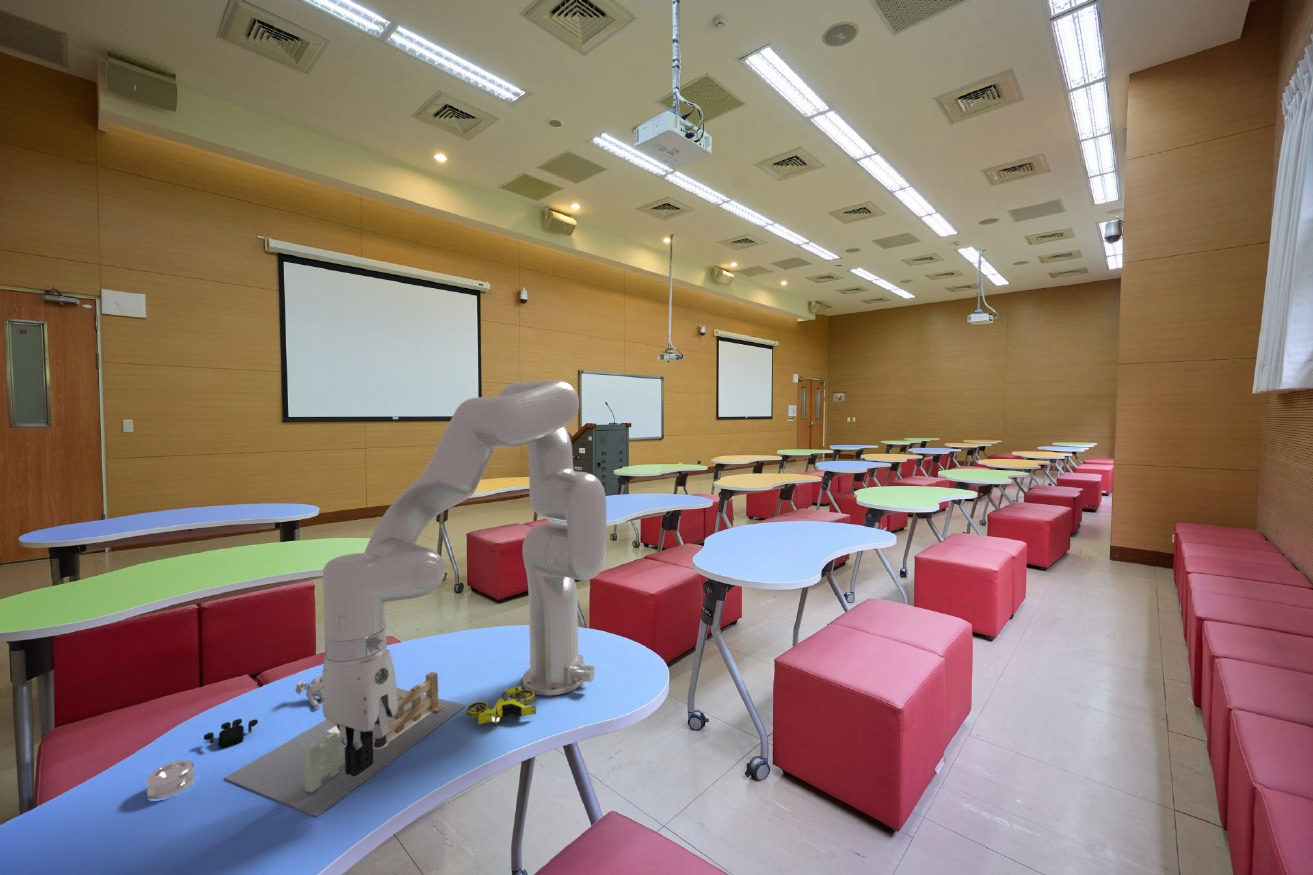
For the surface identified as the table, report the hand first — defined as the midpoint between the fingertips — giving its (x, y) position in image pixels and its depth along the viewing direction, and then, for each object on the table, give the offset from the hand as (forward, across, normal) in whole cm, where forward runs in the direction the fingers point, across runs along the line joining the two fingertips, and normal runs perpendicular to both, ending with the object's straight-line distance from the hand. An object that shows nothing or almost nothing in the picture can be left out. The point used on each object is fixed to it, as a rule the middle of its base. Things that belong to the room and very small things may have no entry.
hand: (359, 768), depth 74 cm
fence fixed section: (+3, +6, -14) cm, 15 cm away
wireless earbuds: (+4, +31, -1) cm, 31 cm away
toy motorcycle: (+3, -8, -22) cm, 24 cm away
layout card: (+3, +11, -8) cm, 14 cm away
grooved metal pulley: (+4, +26, +10) cm, 28 cm away
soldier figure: (+3, +27, -16) cm, 31 cm away
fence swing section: (+2, +6, -2) cm, 7 cm away
